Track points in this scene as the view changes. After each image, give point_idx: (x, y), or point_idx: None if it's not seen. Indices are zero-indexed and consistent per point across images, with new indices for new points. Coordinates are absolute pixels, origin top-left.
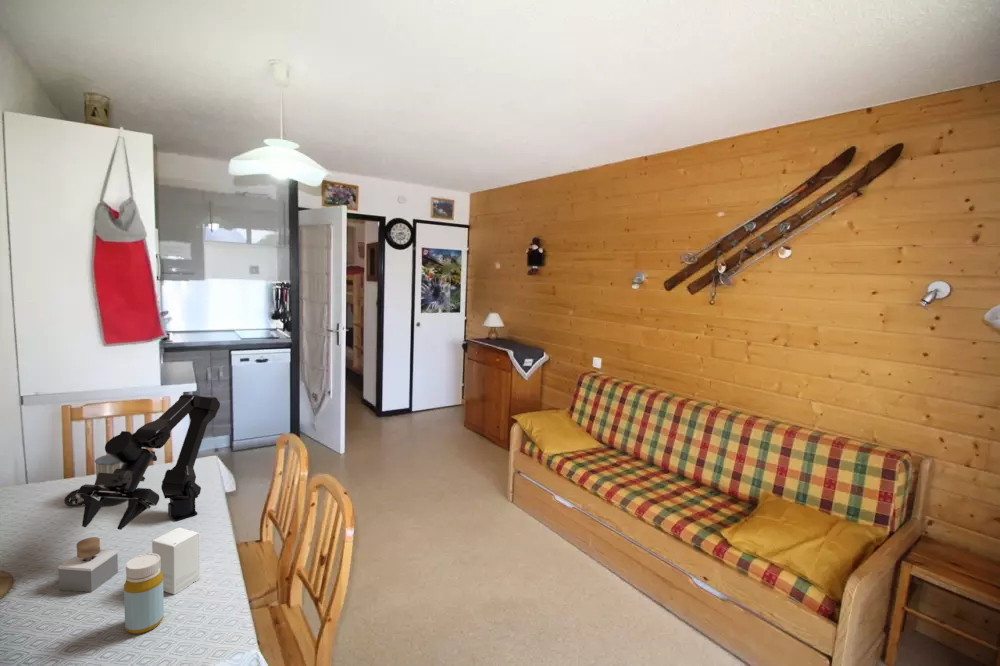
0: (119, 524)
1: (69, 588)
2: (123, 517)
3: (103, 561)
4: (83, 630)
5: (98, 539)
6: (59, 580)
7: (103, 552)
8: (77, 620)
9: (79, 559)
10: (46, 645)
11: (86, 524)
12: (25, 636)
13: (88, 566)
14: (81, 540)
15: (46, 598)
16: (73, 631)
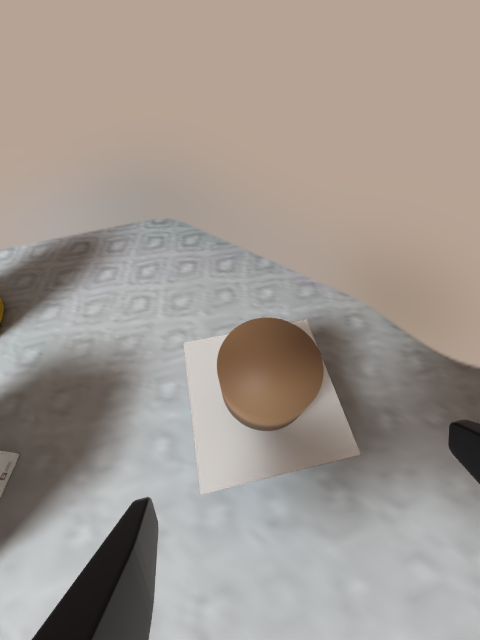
0: (130, 525)
1: None
2: (78, 619)
3: (190, 402)
4: (97, 279)
5: (242, 402)
6: None
7: (251, 454)
8: (135, 294)
9: None
10: (133, 241)
11: (468, 455)
12: (192, 245)
13: (207, 350)
14: (319, 361)
15: None
16: (115, 273)
